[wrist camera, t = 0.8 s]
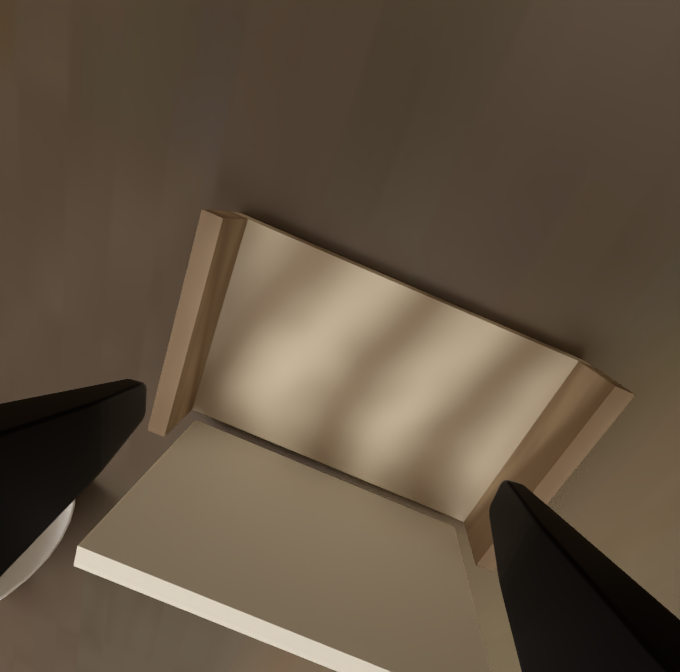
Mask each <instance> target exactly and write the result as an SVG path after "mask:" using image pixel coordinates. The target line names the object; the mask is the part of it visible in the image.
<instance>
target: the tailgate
mask: <svg viewBox="0 0 680 672" xmlns="http://www.w3.org/2000/svg"><path fill="white" fill-rule="evenodd" d="M74 566H75V567H78V568H80V569H83V570H85V571H88V572H90V573H93V574H95V575H98V576H100V577H103V578H105V579H108V580H110V581H113V582H115V583H118V584H120V585H123V586H125V587H128V588H130V589H133V590H135V591H138V592H140V593H143V594H145V595H148V596H150V597H153V598H155V599H158V600H160V601H163V602H165V603H168V604H170V605H173V606H175V607H178V608H180V609H183V610H185V611H188V612H190V613H193V614H195V615H198V616H200V617H203V618H205V619H208V620H210V621H213V622H215V623H218V624H220V625H223V626H225V627H228V628H230V629H233V630H235V631H238V632H240V633H243V634H245V635H248V636H250V637H253V638H255V639H258V640H260V641H263V642H265V643H268V644H270V645H273V646H275V647H278V648H280V649H283V650H285V651H288V652H290V653H293V654H295V655H298V656H300V657H303V658H305V659H308V660H310V661H313V662H315V663H318V664H320V665H323V666H325V667H328V668H330V669H333V670H335V671H338V672H491V671H490V667H489V663H488V659H487V655H486V651H485V647H484V643H483V639H482V635H481V631H480V627H479V622H478V618H477V614H476V610H475V606H474V602H473V598H472V594H471V590H470V586H469V582H468V578H467V574H466V570H465V566H464V562H463V558H462V554H461V550H460V546H459V542H458V538H457V534H456V530H455V527H453V526H451V525H449V524H446V523H444V522H441V521H439V520H437V519H434V518H432V517H429V516H427V515H424V514H422V513H420V512H417V511H415V510H412V509H410V508H408V507H405V506H403V505H400V504H398V503H395V502H393V501H391V500H388V499H386V498H383V497H381V496H379V495H376V494H374V493H371V492H369V491H366V490H364V489H362V488H359V487H357V486H354V485H352V484H350V483H347V482H345V481H342V480H340V479H337V478H335V477H333V476H330V475H328V474H325V473H323V472H321V471H318V470H316V469H313V468H311V467H308V466H306V465H304V464H301V463H299V462H296V461H294V460H292V459H289V458H287V457H284V456H282V455H279V454H277V453H275V452H272V451H270V450H267V449H265V448H263V447H260V446H258V445H255V444H253V443H250V442H248V441H246V440H243V439H241V438H238V437H236V436H234V435H231V434H229V433H226V432H224V431H221V430H219V429H217V428H214V427H212V426H209V425H207V424H205V423H202V422H200V421H197V420H195V421H194V422H193V423H192V424H191V425H190V426H189V427H188V428H187V429H186V430H185V432H184V433H183V434H182V435H181V436H180V437H179V438H178V439H177V440H176V441H175V442H174V443H173V444H172V445H171V446H170V448H169V449H168V450H167V451H166V452H165V453H164V454H163V455H162V456H161V457H160V458H159V459H158V460H157V461H156V462H155V464H154V465H153V466H152V467H151V468H150V469H149V470H148V471H147V472H146V473H145V474H144V475H143V476H142V477H141V478H140V479H139V481H138V482H137V483H136V484H135V485H134V486H133V487H132V488H131V489H130V490H129V491H128V492H127V493H126V494H125V495H124V497H123V498H122V499H121V500H120V501H119V502H118V503H117V504H116V505H115V506H114V507H113V508H112V509H111V510H110V511H109V513H108V514H107V515H106V516H105V517H104V518H103V519H102V520H101V521H100V522H99V523H98V524H97V525H96V526H95V527H94V529H93V530H92V531H91V532H90V533H89V534H88V535H87V536H86V537H85V538H84V539H83V540H82V541H81V542H80V543H79V544H78V546H77V551H76V556H75V561H74Z"/></svg>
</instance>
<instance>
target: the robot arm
mask: <svg viewBox="0 0 680 672" xmlns="http://www.w3.org/2000/svg"><path fill="white" fill-rule="evenodd" d="M146 392H147V388H146V385H145V384H144V383H143V382H139V381H135V380H132V379H125V380H120V381H115V382H110V383H104V384H99V385H94V386H89V387H84V388H79V389H74V390H69V391H64V392H58V393H53V394H48V395H43V396H38V397H33V398H28V399H23V400H18V401H12V402H7V403H2V404H0V577H1V576H2V575H3V574H4V573H5V572H6V571H7V570H8V568H9V567H10V566H11V565H12V564H13V563H14V562H15V561H16V560H17V559H18V558H19V557H20V556H21V555H22V554H23V553H24V552H25V551H26V550H27V549H28V548H29V547H30V546H31V545H32V544H33V543H34V541H35V540H36V539H37V538H38V537H39V536H40V535H41V534H42V533H43V532H44V531H45V530H46V529H47V528H48V527H49V526H50V525H51V524H52V523H53V522H54V521H55V520H56V519H57V518H58V517H59V515H60V514H61V513H62V512H63V511H64V510H65V509H66V508H67V507H68V506H69V505H70V504H71V503H72V502H73V501H74V500H75V499H76V498H77V497H78V496H79V495H80V494H81V493H82V492H83V491H84V489H85V488H86V487H87V486H88V485H89V484H90V483H91V482H92V481H93V480H94V479H95V478H96V477H97V476H98V475H99V474H100V472H101V471H102V470H103V469H104V468H105V467H106V465H107V464H108V463H109V462H110V461H111V459H112V458H113V457H114V456H115V454H116V453H117V452H118V450H119V449H120V448H121V447H122V445H123V444H124V443H125V442H126V440H127V439H128V438H129V437H130V435H131V434H132V433H133V432H134V430H135V429H136V428H137V427H138V425H139V424H140V423H141V421H142V420H143V418H144V416H145V412H146ZM489 518H490V525H491V532H492V538H493V545H494V551H495V558H496V565H497V571H498V577H499V582H500V587H501V591H502V595H503V599H504V603H505V607H506V611H507V615H508V619H509V623H510V627H511V631H512V635H513V639H514V643H515V647H516V651H517V655H518V658H519V662H520V666H521V670H522V672H680V620H679V619H678V618H677V617H676V616H675V615H674V614H672V613H671V612H670V611H669V610H668V609H667V608H665V607H664V606H663V605H662V604H661V603H660V602H658V601H657V600H656V599H655V598H654V597H653V596H652V595H650V594H649V593H648V592H647V591H646V590H645V589H643V588H642V587H641V586H640V585H639V584H638V583H636V582H635V581H634V580H633V579H632V578H631V577H630V576H628V575H627V574H626V573H625V572H624V571H623V570H621V569H620V568H619V567H618V566H617V565H616V564H615V563H613V562H612V561H611V560H610V559H609V558H608V557H606V556H605V555H604V554H603V553H602V552H601V551H599V550H598V549H597V548H596V547H595V546H594V545H593V544H591V543H590V542H589V541H588V540H587V539H586V538H584V537H583V536H582V535H581V534H580V533H579V532H577V531H576V530H575V529H574V528H573V527H572V526H571V525H569V524H568V523H567V522H566V521H565V520H564V519H562V518H561V517H560V516H559V515H558V514H557V513H556V512H554V511H553V510H552V509H551V508H550V507H549V506H547V505H546V504H545V503H544V502H543V501H542V500H540V499H539V498H538V497H537V496H536V495H535V494H534V493H532V492H531V491H530V490H529V489H528V488H527V487H525V486H524V485H523V484H521V483H517V482H514V481H510V480H504V481H502V482H501V484H500V486H499V488H498V490H497V492H496V494H495V496H494V498H493V500H492V502H491V505H490V508H489Z"/></svg>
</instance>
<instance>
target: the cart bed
mask: <svg viewBox="0 0 680 672" xmlns="http://www.w3.org/2000/svg"><path fill="white" fill-rule="evenodd" d="M634 396H635V394H633V393H632V392H630V391H629V390H627V389H626V388H624V387H623V386H621V385H620V384H618V383H617V382H615V381H614V380H612V379H611V378H609V377H608V376H606V375H605V374H603V373H602V372H600V371H599V370H597V369H596V368H594V367H593V366H592V365H590V364H589V363H587V362H586V361H584V360H582V359H580V358H578V357H575V356H573V355H571V354H568V353H566V352H564V351H561V350H559V349H557V348H554V347H552V346H550V345H547V344H545V343H543V342H540V341H538V340H536V339H533V338H531V337H529V336H526V335H524V334H522V333H519V332H517V331H515V330H512V329H510V328H508V327H505V326H503V325H501V324H498V323H496V322H494V321H491V320H489V319H487V318H484V317H482V316H480V315H477V314H475V313H473V312H470V311H468V310H466V309H463V308H461V307H459V306H456V305H454V304H452V303H449V302H447V301H445V300H442V299H440V298H438V297H435V296H433V295H431V294H428V293H426V292H424V291H421V290H419V289H417V288H414V287H412V286H410V285H407V284H405V283H403V282H400V281H398V280H396V279H393V278H391V277H389V276H386V275H384V274H382V273H380V272H377V271H375V270H373V269H370V268H368V267H366V266H363V265H361V264H359V263H356V262H354V261H352V260H349V259H347V258H345V257H342V256H340V255H338V254H335V253H333V252H331V251H328V250H326V249H324V248H321V247H319V246H317V245H314V244H312V243H310V242H307V241H305V240H303V239H300V238H298V237H296V236H293V235H291V234H289V233H286V232H284V231H282V230H279V229H277V228H275V227H272V226H270V225H268V224H265V223H263V222H261V221H258V220H256V219H254V218H251V217H249V216H247V215H244V214H242V213H240V212H230V211H218V210H206V209H202V211H201V215H200V219H199V223H198V227H197V231H196V235H195V239H194V243H193V247H192V251H191V255H190V259H189V263H188V267H187V272H186V276H185V280H184V284H183V288H182V292H181V296H180V300H179V304H178V308H177V312H176V316H175V320H174V324H173V328H172V332H171V336H170V341H169V345H168V349H167V353H166V357H165V361H164V365H163V369H162V373H161V377H160V381H159V385H158V389H157V393H156V397H155V401H154V405H153V410H152V414H151V418H150V422H149V426H148V430H149V431H151V432H154V433H156V434H158V435H161V436H163V437H165V436H166V435H167V434H168V433H169V432H170V431H171V430H172V429H173V428H174V427H175V426H176V425H177V424H178V423H179V422H180V421H181V420H182V419H183V418H184V417H185V416H186V415H187V414H188V413H189V412H190V411H191V410H192V409H193V410H195V411H197V412H200V413H202V414H205V415H207V416H210V417H212V418H214V419H217V420H219V421H222V422H224V423H226V424H229V425H231V426H234V427H236V428H238V429H241V430H243V431H246V432H248V433H251V434H253V435H255V436H258V437H260V438H263V439H265V440H267V441H270V442H272V443H275V444H277V445H279V446H282V447H284V448H287V449H289V450H292V451H294V452H296V453H299V454H301V455H304V456H306V457H308V458H311V459H313V460H316V461H318V462H321V463H323V464H325V465H328V466H330V467H333V468H335V469H337V470H340V471H342V472H345V473H347V474H349V475H352V476H354V477H357V478H359V479H362V480H364V481H366V482H369V483H371V484H374V485H376V486H378V487H381V488H383V489H386V490H388V491H391V492H393V493H395V494H398V495H400V496H403V497H405V498H407V499H410V500H412V501H415V502H417V503H419V504H422V505H424V506H427V507H429V508H432V509H434V510H436V511H439V512H441V513H444V514H446V515H448V516H451V517H453V518H456V519H458V520H460V521H463V522H464V524H465V528H466V531H467V535H468V538H469V542H470V545H471V549H472V553H473V556H474V560H475V563H476V565H477V566H479V567H482V568H484V569H486V570H489V571H491V572H492V571H493V570H494V569H495V568H496V567H497V565H496V558H495V551H494V545H493V538H492V532H491V525H490V518H489V508H490V505H491V502H492V500H493V498H494V496H495V494H496V492H497V490H498V488H499V486H500V484H501V482H502V481H504V480H510V481H514V482H517V483H521V484H523V485H524V486H525V487H527V488H528V489H529V490H530V491H531V492H532V493H534V494H535V495H536V496H537V497H538V498H539V499H540V500H542V501H543V502H544V503H545V504H546V505H547V504H548V502H549V501H550V500H551V499H552V497H553V496H554V495H555V494H556V492H557V491H558V490H559V489H560V487H561V486H562V485H563V484H564V483H565V481H566V480H567V479H568V478H569V476H570V475H571V474H572V473H573V471H574V470H575V469H576V468H577V466H578V465H579V464H580V463H581V462H582V460H583V459H584V458H585V457H586V455H587V454H588V453H589V452H590V450H591V449H592V448H593V447H594V445H595V444H596V443H597V442H598V441H599V439H600V438H601V437H602V436H603V434H604V433H605V432H606V431H607V429H608V428H609V427H610V426H611V424H612V423H613V422H614V421H615V420H616V418H617V417H618V416H619V415H620V413H621V412H622V411H623V410H624V408H625V407H626V406H627V405H628V404H629V402H630V401H631V400H632V399H633V397H634Z"/></svg>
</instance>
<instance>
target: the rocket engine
mask: <svg viewBox="0 0 680 672" xmlns="http://www.w3.org/2000/svg"><path fill="white" fill-rule="evenodd" d="M74 507H75V500H74V501H73V502H72V503H71V504H70V505H69V506H68V507H67V508H66V509H65V510H64V511H63V512H62V513H61V514H60V515H59V517H58V518H57V519H56V520H55V521H54V522H53V523H52V524H51V525H50V526H49V527H48V528H47V529H46V530H45V531H44V532H43V533H42V534H41V535H40V536H39V537H38V538H37V539H36V540H35V541H34V543H33V544H32V545H31V546H30V547H29V548H28V549H27V550H26V551H25V552H24V553H23V554H22V555H21V556H20V557H19V558H18V559H17V560H16V561H15V562H14V563H13V564H12V565H11V566H10V567H9V568H8V570H7V571H6V572H5V573H4V574H3V575H2V576H1V577H0V600H1V599H3V598H4V597H6V596H7V595H8V594H10V593H11V592H12V591H13V590H15V589H16V588H17V587H18V586H20V585H21V584H22V583H23V582H25V581H26V580H27V579H28V578H30V577H31V576H32V574H33V573H34V572H35V571H36V570H37V569H38V568H39V567H40V566H41V565H42V564H43V563H44V562H45V561H46V560H47V559H48V558H49V557H50V555H51V554H52V552H53V551H54V550H55V548H56V547H57V546H58V544H59V543H60V541H61V540H62V538H63V536H64V534H65V532H66V530H67V528H68V526H69V524H70V522H71V518H72V515H73V511H74Z"/></svg>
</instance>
